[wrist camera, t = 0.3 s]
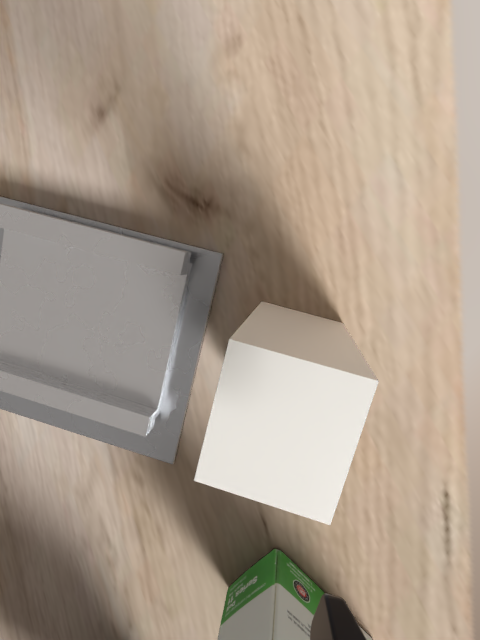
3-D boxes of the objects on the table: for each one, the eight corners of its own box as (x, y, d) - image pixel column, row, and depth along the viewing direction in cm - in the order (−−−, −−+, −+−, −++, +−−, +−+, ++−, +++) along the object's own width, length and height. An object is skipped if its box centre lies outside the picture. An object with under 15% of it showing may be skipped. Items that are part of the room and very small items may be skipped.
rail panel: (174, 460, 24) (162, 481, 22) (-26, 396, 26) (-56, 409, 24) (223, 253, 22) (214, 253, 19) (-3, 195, 23) (-34, 189, 21)
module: (317, 406, 22) (330, 525, 12) (240, 383, 23) (193, 480, 13) (343, 323, 21) (378, 381, 12) (261, 301, 22) (229, 338, 12)
